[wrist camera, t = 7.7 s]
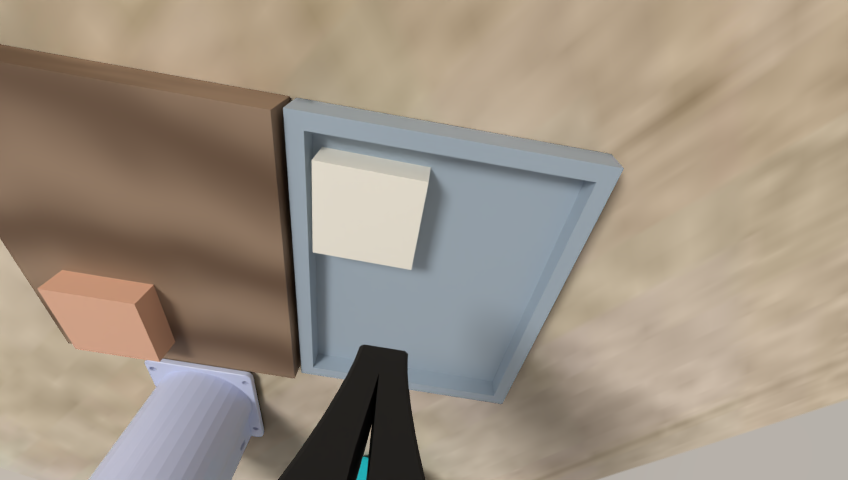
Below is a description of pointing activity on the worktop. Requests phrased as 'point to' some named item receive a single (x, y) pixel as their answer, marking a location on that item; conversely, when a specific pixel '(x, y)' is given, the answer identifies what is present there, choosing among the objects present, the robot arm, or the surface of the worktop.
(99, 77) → the walnut board
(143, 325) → the terracotta tile
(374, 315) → the box
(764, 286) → the worktop surface
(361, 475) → the ornament
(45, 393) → the worktop surface
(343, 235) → the cream tile
